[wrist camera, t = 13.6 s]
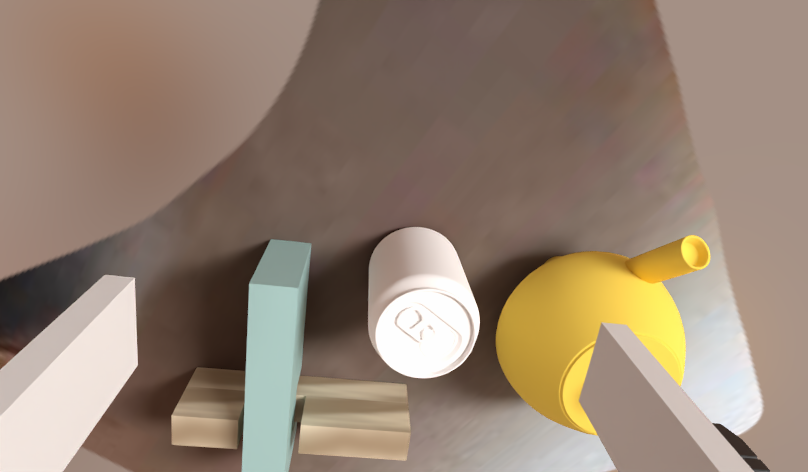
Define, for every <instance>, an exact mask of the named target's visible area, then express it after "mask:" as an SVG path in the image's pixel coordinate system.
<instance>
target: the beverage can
mask: <svg viewBox="0 0 808 472" xmlns="http://www.w3.org/2000/svg"><path fill="white" fill-rule="evenodd" d="M479 326H480V317H479V311H478V307H477V305H476V302H475V299H474V297H473V294H472V291H471V289H470V286H469V284H468V281H467V278H466V276H465V273H464V271H463V268H462V265H461V263H460V260H459V258H458V255H457V253H456V250H455V249H454V247H453V245H452V244H451V243H450V242H449V241H448V239H446V238H445V237H444V236H443V235H441V234H440V233H438V232H436V231H434V230H431V229H428V228H423V227H408V228H403V229H400V230H397V231H395V232H393V233H391V234H389V235H388V236H386V237H385V238H384V239H383V240H382V241H381V242H380V243H379V244H378V245H377V247H376V248H375V250H374V251H373V253H372V256H371V259H370V263H369V290H368V331H369V336H370V340H371V342H372V345H373V347H374V348H375V350H376V351H377V353H378V354H379V355H380V357H381V358H382V359H383V360H384V361H385V362H386V363H387V364H388V365H389V366H390V367H391V368H392V369H394V370H395V371H397V372H399V373H401V374H403V375H406V376H409V377H414V378H433V377H438V376H441V375H444V374H447V373H449V372H451V371H452V370H454V369H456V368H457V367H458V366H460V365H461V364H462V363H463V362H464V361H465V360H466V359H467V357H468V356H469V354H470V353H471V351H472V349H473V347H474V344H475V341H476V339H477V336H478V332H479Z"/></svg>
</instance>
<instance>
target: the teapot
mask: <svg viewBox="0 0 808 472" xmlns="http://www.w3.org/2000/svg"><path fill="white" fill-rule="evenodd" d="M709 262H710V251H709V248H708V246H707V244H706V243H705V242H704V241H703V240H702V239H701V238H700V237H698V236H695V235H690V236H687V237H684V238H682V239H679V240H677V241H674V242H671V243H669V244H666V245H664V246H661V247H659V248H656V249H654V250H651V251H649V252H646V253H644V254H641V255H639V256H636V257H634V258H631V259H630V258H627V257H625V256H622V255H618V254H614V253H609V252H598V251H587V252H578V253H572V254H568V255H565V256H555V257H552V258H550V259H548V260H547V261H546V262H545V264H544V265H542V266H540V267H539V268H537V269H536V270H535V271H533V272H532V273H530V274H529V275H528V276H527V277H526V278H525V279H524V280H522V281H521V283H520V284H519V285H518V286H517V287H516V288H515V289H514V291H513V292H512V294H511V295H510V297H509V298H508V300H507V302H506V304H505V306H504V308H503V309H502V312H501V315H500V318H499V321H498V326H497V331H496V351H497V356H498V360H499V363H500V365H501V367H502V370H503V372H504V374H505V376H506V378H507V379H508V381H509V382H510V384H511V385H512V387H513V388H514V389H515V391H516V392H517V393H518V394H519V395H520V396H521V397H522V398H523V399H524V400H525V402H526V403H528V404H529V405H530V406H531V407H532V408H533V409H535V410H536V411H538V412H539V413H540V414H542V415H544V416H545V417H547V418H548V419H550V420H552V421H554V422H557V423H559V424H561V425H563V426H566V427H568V428H571V429H574V430H577V431H580V432H583V433H587V434H592V435H597V433H596V431H595V429H594V427H593V426H592V424H591V422H590V420H589V418H588V417H587V415H586V413H585V411H584V410H583V408H582V406H581V404H580V402H579V398H580V395H581V391H582V388H583V384H584V381H585V377H586V374H587V371H588V367H589V364H590V360H591V357H592V353H593V350H594V346H595V343H596V340H597V336H598V333H599V329H600V326H601V322H602V323H613V324H623V325H627V326H628V327H629V328H630V329H631V331H632V332H633V333H634V334H635V335H636V336H637V338H638V339H639V340H640V341H641V342H642V343H643V344H644V346H645V347H646V348H647V349H648V350H649V351H650V352H651V354H652V355H653V356H654V357H655V358H656V359H657V361H658V362H659V363H660V364H661V365H662V366H663V367H664V369H665V370H666V371H667V372H668V373H669V374H670V376H671V377H672V378H673V379H674V380H675V381H676V382H677V384H678V385H679V386H681V383H682V379H683V374H684V366H685V351H686V346H685V334H684V329H683V325H682V321H681V317H680V314H679V312H678V310H677V307H676V305H675V303H674V301H673V299H672V297H671V296H670V294H669V293H668V291H667V290H666V288H665V287H664V285H663V284H662V283H661V281H664V280H667V279H671V278H674V277H677V276H681V275H684V274H687V273H690V272H694V271H697V270H700V269H703V268H705V267H706V266H707V265H708V264H709Z"/></svg>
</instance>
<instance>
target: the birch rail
mask: <svg viewBox="0 0 808 472" xmlns="http://www.w3.org/2000/svg"><path fill="white" fill-rule="evenodd" d="M245 378H246V371H239V370H226V369H214V368H202V367H197V368H196V370H195V372H194V374H193V376H192V377H191V379H190V381H189V383H188V385H187V387H186V389H185V391H184V393H183V395H182V396H181V398H180V400H179V402H178V404H177V406H176V408H175V410H174V412H173V414H172V416H171V417H172V445H183V446H198V447H213V448H228V449H237V448H238V445H239V442H240V438H241V435H242V432H243V429H244V403H245ZM294 422H301V429H300V441H299V452H298V453H302V454H317V455H332V456H347V457H361V458H376V459H391V460H406V459H407V453H408V447H409V441H410V435H411V429H410V419H409V409H408V398H407V388H406V384H399V383H387V382H375V381H362V380H350V379H337V378H325V377H313V376H299V381H298V385H297V393H296V405H295V418H294Z"/></svg>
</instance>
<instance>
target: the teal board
mask: <svg viewBox="0 0 808 472" xmlns="http://www.w3.org/2000/svg"><path fill="white" fill-rule="evenodd" d="M310 253H311V243H303V242H293V241H284V240H274V239H271V240H270V242H269V244H268V246H267V248H266V250H265V252H264V254H263V256H262V258H261V260H260V262H259V264H258V266H257V269H256V271H255V273H254V275H253V277H252V279H251V281H250V283H249V301H248V327H247V352H246V378H245V403H244V429H243V455H242V472H288V471H289V466H290V460H291V455H292V450H293V445H294V439H295V434H296V429H297V422H294V418H295V405H296V393H297V385H298V381H299V376H300V371H301V367H302V354H303V342H304V329H305V316H306V304H307V291H308V279H309V266H310Z"/></svg>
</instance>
